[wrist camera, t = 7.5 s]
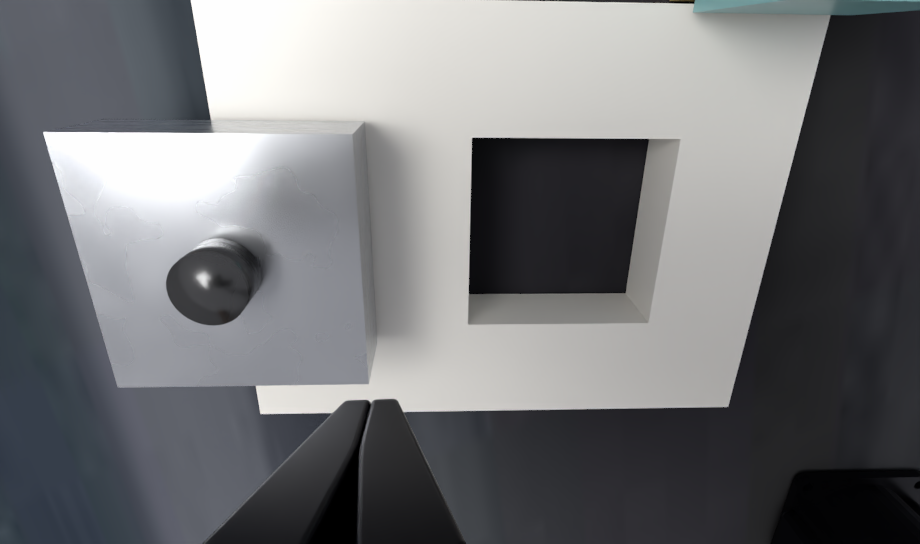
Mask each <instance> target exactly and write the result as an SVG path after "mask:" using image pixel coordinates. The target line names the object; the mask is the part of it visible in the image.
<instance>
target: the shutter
mask: <svg viewBox="0 0 920 544" xmlns="http://www.w3.org/2000/svg"><path fill="white" fill-rule="evenodd" d="M43 133H44V137H45V140H46V143H47V147H48V150H49V154H50V157H51V161H52V164H53V167H54V171H55V174H56V178H57V181H58V184H59V188H60V191H61V195H62V198H63V202H64V205H65V208H66V212H67V215H68V219H69V222H70V225H71V229H72V232H73V236H74V239H75V243H76V246H77V249H78V253H79V256H80V260H81V263H82V266H83V270H84V273H85V277H86V280H87V284H88V287H89V290H90V294H91V297H92V301H93V304H94V307H95V311H96V314H97V318H98V321H99V325H100V328H101V331H102V335H103V338H104V342H105V345H106V348H107V352H108V355H109V359H110V362H111V366H112V369H113V372H114V376H115V379H116V383H117V386H118V387H194V386H272V385H351V384H369V381H370V376H371V371H372V366H373V361H374V357H375V352H376V347H377V326H376V308H375V291H374V273H373V255H372V238H371V220H370V202H369V185H368V167H367V149H366V132H365V121H274V120H150V119H101V120H97V121H92V122H87V123H83V124H78V125H74V126H69V127H64V128H60V129H55V130H51V131H46V132H43Z"/></svg>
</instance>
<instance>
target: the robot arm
mask: <svg viewBox="0 0 920 544" xmlns="http://www.w3.org/2000/svg"><path fill="white" fill-rule="evenodd" d="M203 544H466V542H465V540H464V538H463V536H462V534H461V532H460V529H459V527H458V525H457V523H456V521H455V519H454V517H453V515H452V513H451V511H450V509H449V506H448V504H447V502H446V500H445V498H444V496H443V494H442V492H441V490H440V488H439V486H438V483H437V481H436V479H435V477H434V475H433V473H432V471H431V469H430V467H429V465H428V463H427V460H426V458H425V456H424V454H423V452H422V450H421V448H420V446H419V444H418V442H417V440H416V437H415V435H414V433H413V431H412V429H411V427H410V425H409V423H408V421H407V419H406V417H405V414H404V412H403V410H402V408H401V406H400V404H399V402H398V401H397V400H396V399H376V400H373V401H372V402H371V403H370V401H369V400H348V401H345V402H343V403H342V404H341V405H340V406H339V407H338V408H337V409H336V410H335V411H334V412H333V413H332V414H331V415H330V416H329V417H328V418H327V419H326V420H325V421H324V422H323V423H322V424H321V425H320V426H319V427H318V428H317V429H316V430H315V431H314V432H313V433H312V434H311V435H310V436H309V437H308V438H307V439H306V440H305V441H304V442H303V443H302V444H301V445H300V446H299V447H298V448H297V449H296V450H295V451H294V452H293V453H292V454H291V455H290V456H289V457H288V458H287V459H286V460H285V461H284V462H283V463H282V464H281V465H280V466H279V467H278V468H277V469H276V470H275V471H274V472H273V473H272V474H271V475H270V476H269V477H268V478H267V479H266V480H265V481H264V482H263V483H262V484H261V485H260V486H259V487H258V488H257V489H256V490H255V491H254V492H253V493H252V494H251V495H250V496H249V498H248V499H247V500H246V501H245V502H244V503H243V504H242V505H241V506H240V507H239V508H238V509H237V510H236V511H235V512H234V513H233V514H232V515H231V516H230V517H229V518H228V519H227V520H226V521H225V522H224V523H223V524H222V525H221V526H220V527H219V528H218V529H217V530H216V531H215V532H214V533H213V534H212V535H211V536H210V537H209V538H208V539H207V540H206V541H205V542H204V543H203ZM771 544H920V471H879V472H830V473H803V474H800V475H798V476H796V477H795V478H794V480H793V482H792V485H791V488H790V490H789V493H788V496H787V499H786V502H785V505H784V508H783V511H782V514H781V517H780V520H779V522H778V525H777V528H776V531H775V534H774V537H773V540H772V543H771Z"/></svg>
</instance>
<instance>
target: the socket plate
mask: <svg viewBox="0 0 920 544" xmlns="http://www.w3.org/2000/svg"><path fill="white" fill-rule="evenodd" d="M191 4H192V10H193V16H194V22H195V28H196V34H197V40H198V45H199V51H200V57H201V63H202V69H203V75H204V81H205V87H206V93H207V99H208V105H209V111H210V117H211V120H274V121H365V132H366V149H367V167H368V185H369V202H370V220H371V238H372V255H373V273H374V291H375V308H376V326H377V347H376V352H375V357H374V361H373V366H372V371H371V376H370V381H369V384H351V385H272V386H256V390H257V396H258V402H259V408H260V414H294V413H333V412H334V411H335V410H336V409H337V408H338V407H339V406H340V405H341V404H342V403H343V402H345V401H348V400H369V401H370V403H371V402H372V401H373V400H376V399H396V400H397V401H398V402H399V404H400V406H401V408H402V410H403V412H427V411H494V410H561V409H627V408H694V407H728V406H729V402H730V398H731V394H732V390H733V386H734V383H735V379H736V375H737V371H738V367H739V363H740V360H741V356H742V352H743V348H744V344H745V341H746V337H747V333H748V329H749V325H750V321H751V318H752V314H753V310H754V306H755V302H756V298H757V295H758V291H759V287H760V283H761V279H762V276H763V272H764V268H765V264H766V260H767V256H768V253H769V249H770V245H771V241H772V237H773V234H774V230H775V226H776V222H777V218H778V214H779V211H780V207H781V203H782V199H783V195H784V191H785V188H786V184H787V180H788V176H789V172H790V169H791V165H792V161H793V157H794V153H795V149H796V146H797V142H798V138H799V134H800V130H801V126H802V123H803V119H804V115H805V111H806V107H807V104H808V100H809V96H810V92H811V88H812V84H813V81H814V77H815V73H816V69H817V65H818V62H819V58H820V54H821V50H822V46H823V42H824V39H825V35H826V31H827V27H828V23H829V19H830V16H831V15H804V14H746V13H693V8H694V4H677V3H621V2H565V1H509V0H191ZM472 138H593V139H649V142H648V149H647V155H646V162H645V168H644V175H643V182H642V188H641V195H640V201H639V208H638V215H637V221H636V228H635V234H634V241H633V248H632V254H631V261H630V267H629V274H628V281H627V287H626V293H581V294H469V254H470V207H471V161H472Z"/></svg>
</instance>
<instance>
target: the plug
mask: <svg viewBox="0 0 920 544" xmlns="http://www.w3.org/2000/svg"><path fill="white" fill-rule="evenodd" d="M670 1H689V2H694V8H693V13H746V14H804V15H861V14H875V13H888V12H901V11H915V10H920V0H670Z"/></svg>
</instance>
